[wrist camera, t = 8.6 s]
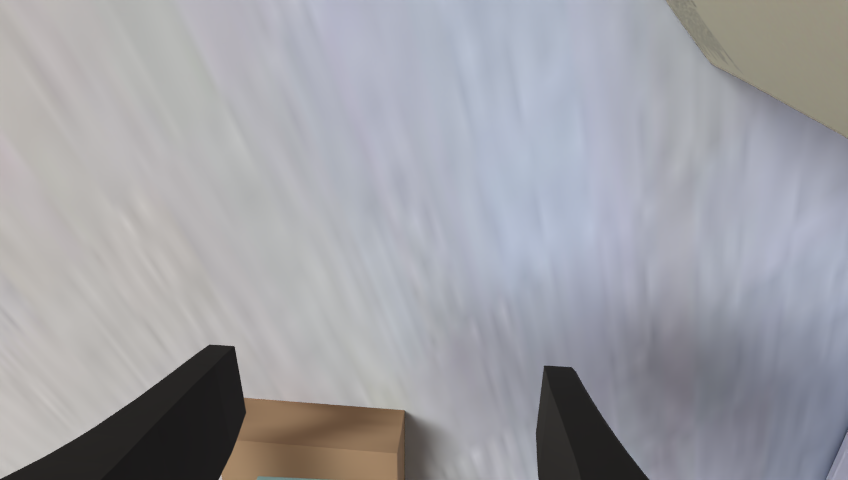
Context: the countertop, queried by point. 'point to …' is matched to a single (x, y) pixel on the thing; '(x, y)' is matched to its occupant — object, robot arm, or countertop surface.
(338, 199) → the countertop surface
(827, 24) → the box
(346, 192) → the countertop surface
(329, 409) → the tan wooden block
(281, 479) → the teal block
